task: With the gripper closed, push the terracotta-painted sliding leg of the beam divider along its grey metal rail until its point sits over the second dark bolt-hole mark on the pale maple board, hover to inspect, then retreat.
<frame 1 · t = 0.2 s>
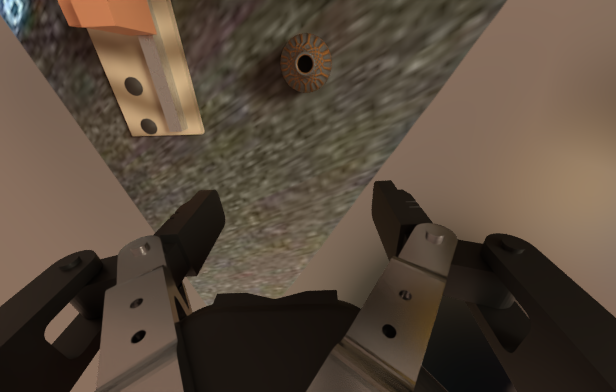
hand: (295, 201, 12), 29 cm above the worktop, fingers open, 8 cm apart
hole board: (141, 47, 33), on the worktop
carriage: (102, 12, 26), point 6 cm above the worktop, slide at 6.0 cm
vase: (306, 65, 34), on the worktop
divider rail: (129, 45, 30), on the hole board, point 3 cm above the worktop
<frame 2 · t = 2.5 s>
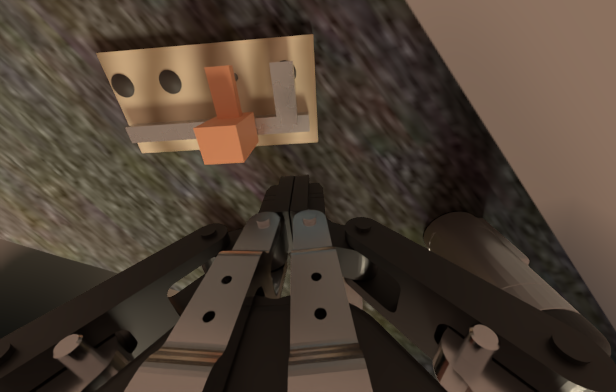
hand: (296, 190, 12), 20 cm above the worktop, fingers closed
hole board: (219, 100, 29), on the worktop
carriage: (228, 111, 24), point 6 cm above the worktop, slide at 6.0 cm
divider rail: (212, 104, 27), on the hole board, point 3 cm above the worktop
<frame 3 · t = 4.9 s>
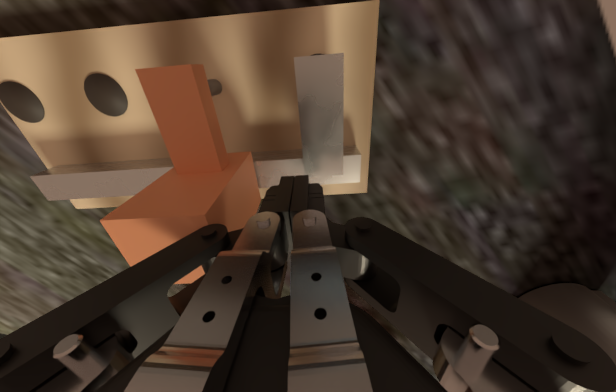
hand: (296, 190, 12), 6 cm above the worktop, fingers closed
hole board: (200, 124, 17), on the worktop
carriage: (199, 158, 12), point 6 cm above the worktop, slide at 6.5 cm, touching gripper
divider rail: (182, 137, 14), on the hole board, point 3 cm above the worktop
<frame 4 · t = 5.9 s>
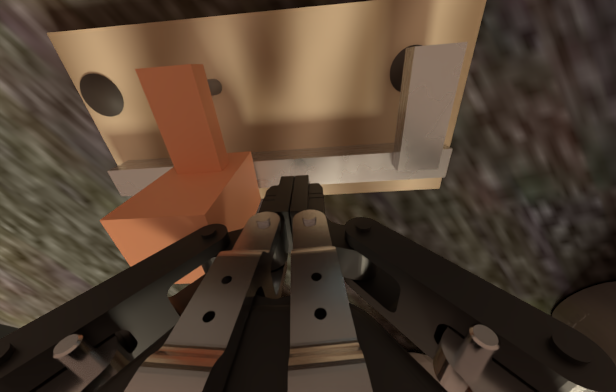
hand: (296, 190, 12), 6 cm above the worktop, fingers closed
soap bottle: (394, 357, 34), on the worktop
hole board: (275, 119, 16), on the worktop
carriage: (199, 158, 12), point 6 cm above the worktop, slide at 12.2 cm, touching gripper
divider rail: (269, 131, 14), on the hole board, point 3 cm above the worktop
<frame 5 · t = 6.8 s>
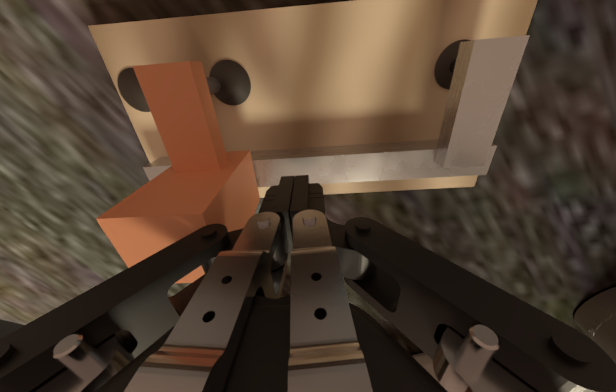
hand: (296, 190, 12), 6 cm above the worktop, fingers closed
soap bottle: (411, 357, 34), on the worktop
hole board: (311, 115, 16), on the worktop
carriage: (197, 157, 12), point 6 cm above the worktop, slide at 14.9 cm, touching gripper
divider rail: (311, 127, 14), on the hole board, point 3 cm above the worktop
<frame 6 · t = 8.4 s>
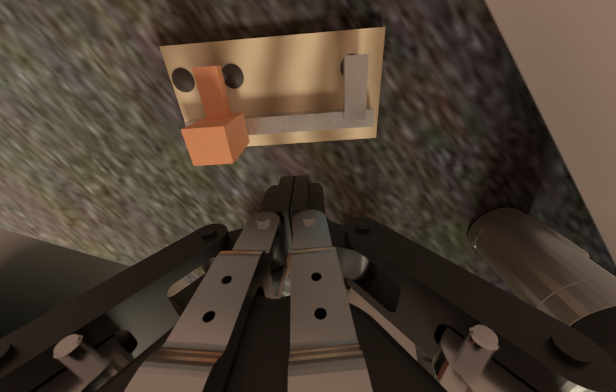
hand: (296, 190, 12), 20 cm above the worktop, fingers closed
soap bottle: (364, 278, 46), on the worktop
hole board: (278, 95, 28), on the worktop
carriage: (217, 111, 24), point 6 cm above the worktop, slide at 14.9 cm
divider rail: (276, 99, 26), on the hole board, point 3 cm above the worktop
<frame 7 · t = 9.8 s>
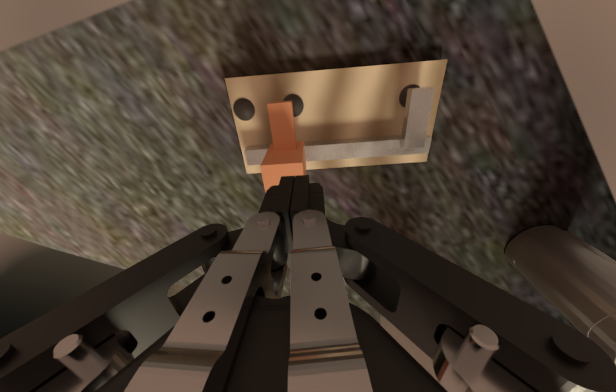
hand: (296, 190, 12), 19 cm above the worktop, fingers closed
soap bottle: (398, 292, 47), on the worktop
hole board: (333, 121, 29), on the worktop
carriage: (284, 143, 24), point 6 cm above the worktop, slide at 14.9 cm
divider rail: (335, 128, 27), on the hole board, point 3 cm above the worktop
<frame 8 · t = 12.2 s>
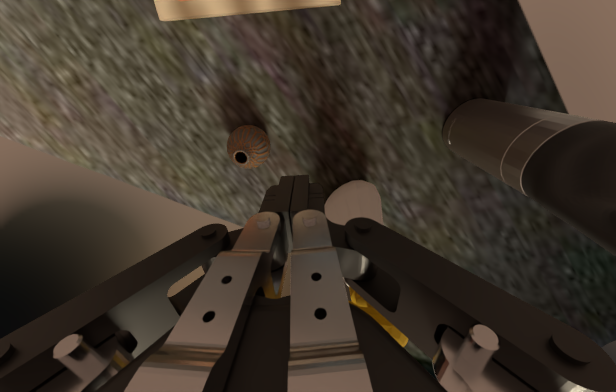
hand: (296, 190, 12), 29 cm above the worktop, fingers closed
soap bottle: (341, 193, 46), on the worktop
vase: (254, 140, 41), on the worktop
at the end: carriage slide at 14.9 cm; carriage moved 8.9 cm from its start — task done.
